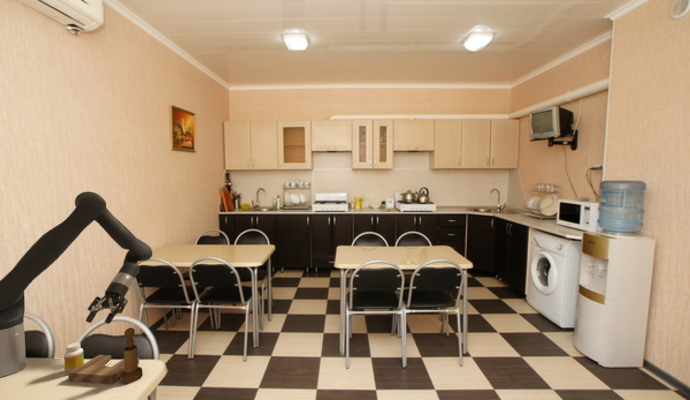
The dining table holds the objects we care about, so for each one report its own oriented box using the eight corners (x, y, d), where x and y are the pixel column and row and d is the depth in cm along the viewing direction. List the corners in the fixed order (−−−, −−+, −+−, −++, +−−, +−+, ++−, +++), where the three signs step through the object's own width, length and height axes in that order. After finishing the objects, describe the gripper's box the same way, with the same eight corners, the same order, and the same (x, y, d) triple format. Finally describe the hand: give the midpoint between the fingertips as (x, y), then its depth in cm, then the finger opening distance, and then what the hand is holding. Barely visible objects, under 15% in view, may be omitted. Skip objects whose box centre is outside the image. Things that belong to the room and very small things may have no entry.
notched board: (68, 381, 110) (68, 372, 110) (99, 362, 122) (99, 354, 122) (111, 384, 108) (111, 375, 108) (139, 364, 120) (138, 357, 120)
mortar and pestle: (131, 385, 107) (128, 333, 107) (115, 383, 109) (113, 332, 108) (146, 373, 114) (144, 325, 113) (131, 372, 115) (129, 323, 115)
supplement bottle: (81, 372, 116) (80, 346, 115) (62, 376, 113) (61, 350, 113) (86, 365, 120) (84, 340, 120) (68, 368, 118) (66, 343, 118)
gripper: (100, 281, 135) (75, 318, 124) (129, 281, 133) (106, 319, 122) (111, 289, 141) (88, 325, 130) (139, 290, 139) (118, 326, 128)
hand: (97, 322), depth 126 cm, fingers open, 8 cm apart
